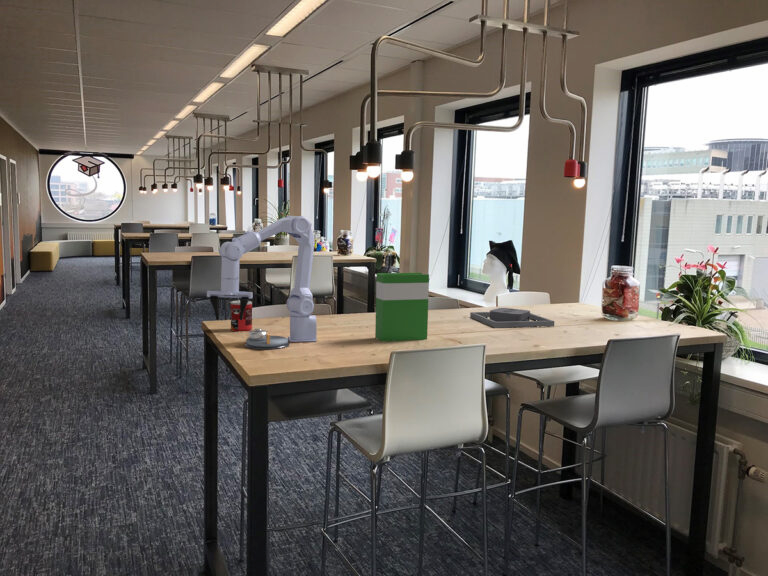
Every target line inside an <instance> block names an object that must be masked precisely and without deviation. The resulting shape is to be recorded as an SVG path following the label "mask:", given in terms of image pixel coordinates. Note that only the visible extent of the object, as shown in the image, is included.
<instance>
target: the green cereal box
mask: <svg viewBox="0 0 768 576" xmlns="http://www.w3.org/2000/svg"><path fill="white" fill-rule="evenodd" d="M375 287H376V289H375V290H376V291H375V293H376V294H375V331H374V332H375V333H374V334H375V339H376V338H377V339H376V340H378V339H379V340H378V341H380V340H381V341H380V342H382V341H387V342H402V341H403V342H405V341H419V340H420V341H421V340H422V341H423V340H428V327H429V326H428V324H429V322H428V321H429V294H430V293H429V291H430V290H429V289H430V288H429V287H430V274H429V273H428V274H426V273H425V274H424V273H422V272H376V286H375Z"/></svg>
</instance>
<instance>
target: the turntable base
mask: <svg viewBox="0 0 768 576" xmlns="http://www.w3.org/2000/svg"><path fill="white" fill-rule="evenodd" d="M244 347H245V348H247V349H250V350H258V351H272V350H273V349H274V350H280V349H281V348H282V349H286V348H287V347H290V341H288V344H286V345H283V346H277V347H254V346H249V345H247V344H246V342H244ZM285 347H286V348H285Z"/></svg>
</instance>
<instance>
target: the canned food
mask: <svg viewBox="0 0 768 576" xmlns="http://www.w3.org/2000/svg"><path fill="white" fill-rule="evenodd" d="M252 328H253V301H251V300H249V301H248V303H247V305H246V308H245V311H244V314H243V319H242V320H240V300H233V301H230V330H231V331H232V330H233V331H232V332H235V331H246V332H249V331H250V330H251V331H252V330H253V329H252Z"/></svg>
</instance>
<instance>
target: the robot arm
mask: <svg viewBox="0 0 768 576" xmlns="http://www.w3.org/2000/svg"><path fill="white" fill-rule="evenodd" d="M312 225H313V224H312V223H311V221H310V220H309V219H308V218H307V217H305V216H303V215H299V216H297V215H286V216H285V217H283V218H279V219H277V220H276V221H274V222H273V223H270V224H268V225H267V226H265V227H264V228H262V229H260V230H258V231H253V230H250V231H249V230H246V231H244V232H243V234H242V235H240V236H238V237H233V238H232V239H231V241H226V242H223V243H222V244H221V246H220V247H219V250H218V253H219V256H220V257H221V278H220V279H221V280H220V281H221V282H220V285H221V286H220V290H207V291H206V297H207V298H209V301H210V303H211V305H212V307H213V310H214V314H215V320H219V319H220V299H221V298H232V299H233V298H234V299H238V298H239V299H240V300H239V301H240V320H242V319H243V314H244V311H245V308H246V305H247V303H248V301H250V299H253V294H254V293H253V292H252V291H240V259H241V258H242V257H243V255H245V254H246V253H249V252H251V251H252V250H254V249H256V248H259V247H260V245H261V243H262V241H265V240H266V239H268V238H270V237H273V236H275V235H277V234H279V233H282V232H283V233H286V234H288V235H289V236H291V237H293V239H294V240H295V241H296V242H297V244H298V249H297V260H296V268H295V276H294V286H293V288H292V290H291V291H290V293H289V297H288V299H287V300H286V307H287V310H288V311H289V336H287V339H288V342H289V343H297V342H298V343H299V342H303V343H305V342H317V341H318V340H317V335H318V334H317V333H318V331H317V329H318V326H317V315H311V314H312V313H313V312H314V308H315V305H314V301H313V297H314V296H313V293H312V292H311V290H310V287H311V279H312V270H313V261H314V251H315V242H316V240H315V236H314V232H313V229H312Z"/></svg>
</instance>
